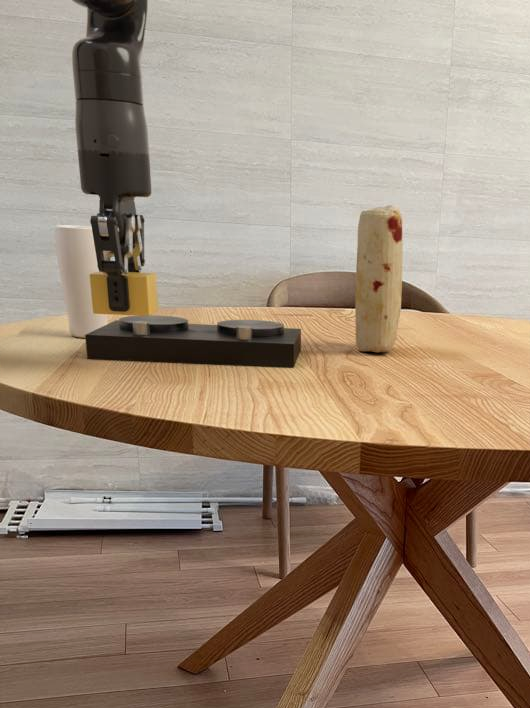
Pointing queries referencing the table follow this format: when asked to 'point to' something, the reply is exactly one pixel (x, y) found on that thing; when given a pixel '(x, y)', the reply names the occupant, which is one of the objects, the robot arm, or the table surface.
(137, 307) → the cheese
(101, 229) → the robot arm
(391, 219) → the food model
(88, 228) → the drinking glass
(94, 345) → the stove
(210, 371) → the table surface
